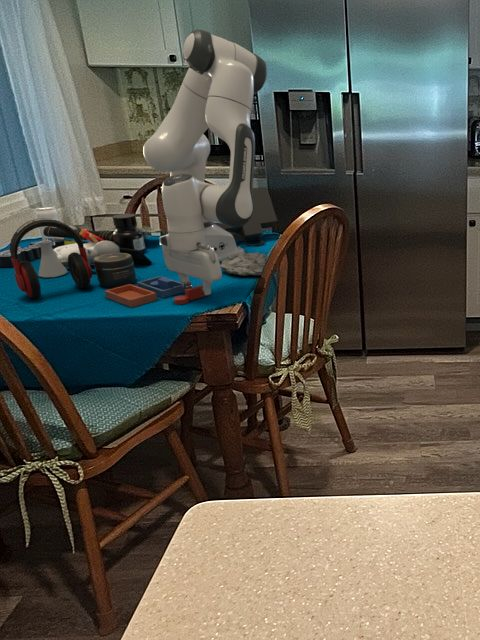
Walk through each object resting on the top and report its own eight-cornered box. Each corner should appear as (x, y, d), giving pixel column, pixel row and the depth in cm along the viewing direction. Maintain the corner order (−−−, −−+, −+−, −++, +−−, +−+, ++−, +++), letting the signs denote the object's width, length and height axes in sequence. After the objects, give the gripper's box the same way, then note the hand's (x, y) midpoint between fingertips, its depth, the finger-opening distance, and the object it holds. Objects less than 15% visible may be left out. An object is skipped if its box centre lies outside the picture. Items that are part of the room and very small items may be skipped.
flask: (55, 279, 189) (46, 245, 185) (33, 277, 191) (24, 243, 186) (72, 271, 196) (64, 239, 192) (52, 270, 197) (43, 237, 193)
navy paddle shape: (177, 289, 179) (176, 279, 178) (165, 293, 176) (164, 283, 175) (160, 283, 184) (158, 274, 182) (148, 287, 181) (146, 277, 180)
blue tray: (138, 289, 181) (136, 282, 180) (161, 282, 186) (160, 276, 185) (163, 298, 174) (162, 291, 173) (187, 291, 179) (186, 284, 178)
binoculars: (110, 257, 210) (107, 243, 208) (57, 268, 198) (53, 253, 197) (95, 251, 216) (92, 237, 214) (43, 262, 205) (39, 247, 203)
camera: (186, 212, 230) (199, 255, 230) (194, 195, 216) (208, 241, 216) (255, 203, 243) (267, 243, 243) (266, 186, 229) (280, 229, 229)
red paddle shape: (200, 294, 177) (198, 284, 176) (208, 296, 175) (206, 286, 174) (171, 302, 171) (169, 292, 170) (179, 305, 169) (177, 295, 168)
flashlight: (47, 235, 218) (129, 241, 225) (42, 240, 214) (125, 246, 220) (45, 223, 216) (128, 229, 223) (40, 227, 212) (125, 233, 218)
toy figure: (113, 254, 217) (79, 236, 207) (107, 247, 221) (72, 230, 211) (118, 248, 217) (83, 230, 207) (111, 241, 221) (76, 223, 211)
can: (68, 241, 229) (59, 207, 224) (49, 245, 224) (40, 210, 219) (58, 238, 232) (49, 205, 227) (39, 242, 227) (30, 208, 222)
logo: (47, 237, 220) (72, 239, 218) (49, 247, 221) (74, 249, 219) (-13, 255, 199) (14, 257, 197) (-10, 265, 200) (17, 268, 198)
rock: (259, 255, 207) (214, 271, 199) (256, 243, 204) (210, 258, 197) (284, 273, 195) (237, 290, 188) (281, 260, 193) (233, 277, 186)
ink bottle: (144, 254, 213) (137, 217, 208) (115, 257, 210) (107, 220, 205) (146, 247, 221) (139, 211, 216) (118, 249, 218) (110, 213, 213)
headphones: (87, 281, 187) (70, 211, 179) (99, 289, 181) (82, 217, 172) (18, 295, 176) (-4, 221, 168) (28, 304, 170) (6, 227, 161)
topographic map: (147, 225, 236) (147, 220, 235) (177, 237, 226) (178, 231, 225) (94, 223, 220) (94, 217, 220) (124, 236, 211) (124, 229, 210)
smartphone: (115, 258, 208) (153, 263, 203) (114, 260, 207) (152, 264, 203) (99, 245, 201) (139, 249, 197) (98, 247, 201) (138, 251, 197)
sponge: (56, 241, 211) (57, 250, 212) (83, 240, 210) (83, 249, 211) (77, 242, 221) (78, 251, 221) (102, 242, 220) (103, 250, 221)
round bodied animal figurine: (76, 271, 195) (69, 244, 192) (117, 263, 203) (111, 236, 200) (86, 276, 191) (79, 248, 187) (127, 268, 199) (121, 240, 195)
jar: (93, 283, 186) (87, 256, 183) (129, 275, 192) (124, 250, 189) (106, 291, 179) (100, 264, 176) (143, 283, 186) (137, 257, 183)
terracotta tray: (106, 297, 174) (104, 290, 174) (131, 290, 180) (130, 283, 179) (131, 307, 168) (130, 300, 167) (157, 299, 173) (156, 292, 172)
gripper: (223, 243, 165) (231, 295, 171) (176, 232, 176) (185, 281, 182) (201, 249, 160) (210, 302, 166) (155, 237, 171) (164, 287, 177)
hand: (197, 291), depth 174 cm, fingers open, 7 cm apart
